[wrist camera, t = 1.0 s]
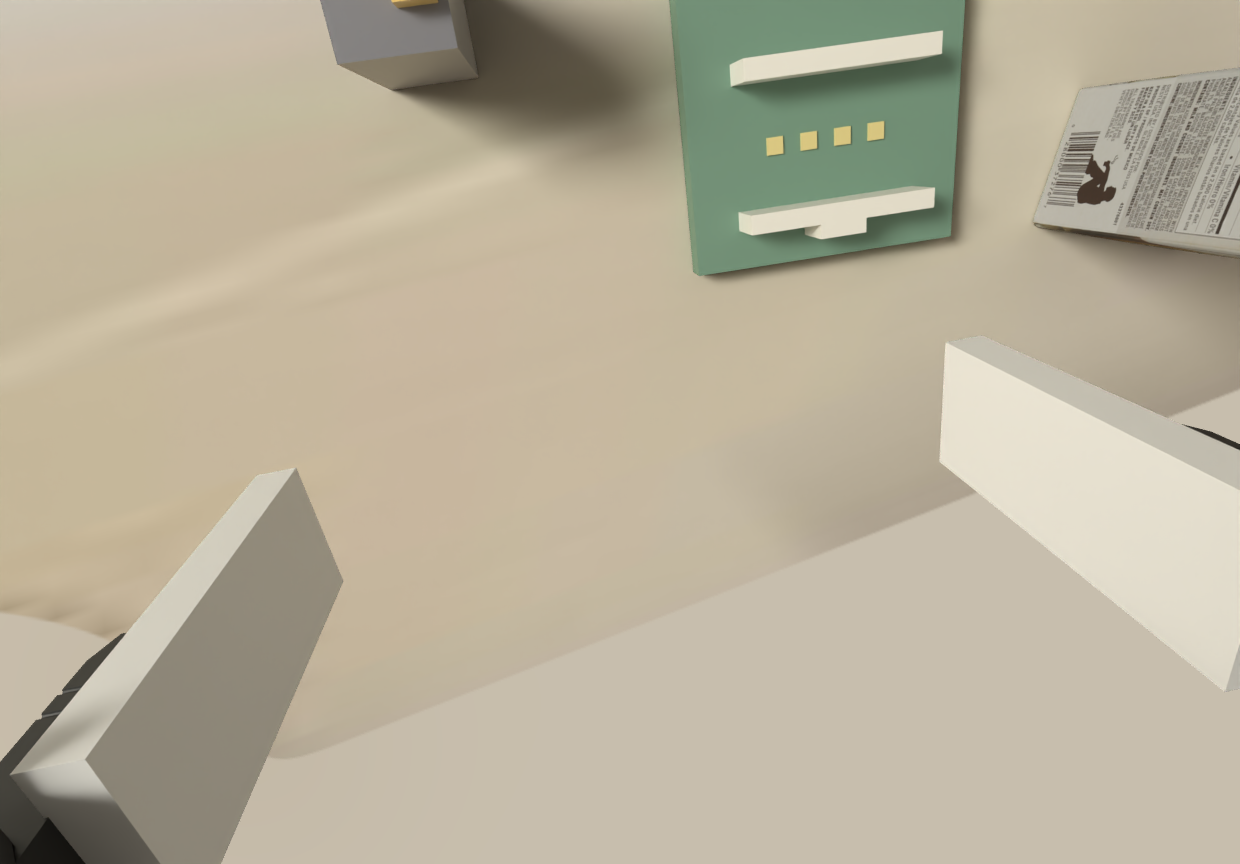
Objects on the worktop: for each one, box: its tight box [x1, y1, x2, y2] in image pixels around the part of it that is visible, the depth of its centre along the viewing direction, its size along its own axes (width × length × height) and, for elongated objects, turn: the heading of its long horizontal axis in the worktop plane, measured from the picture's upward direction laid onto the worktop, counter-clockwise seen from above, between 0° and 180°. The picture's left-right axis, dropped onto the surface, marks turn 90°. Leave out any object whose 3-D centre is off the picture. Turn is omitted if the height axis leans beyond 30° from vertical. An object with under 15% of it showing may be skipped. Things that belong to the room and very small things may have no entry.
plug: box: [320, 0, 479, 90], centre depth 22 cm, size 4×4×9 cm
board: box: [669, 0, 965, 276], centre depth 27 cm, size 16×12×3 cm
